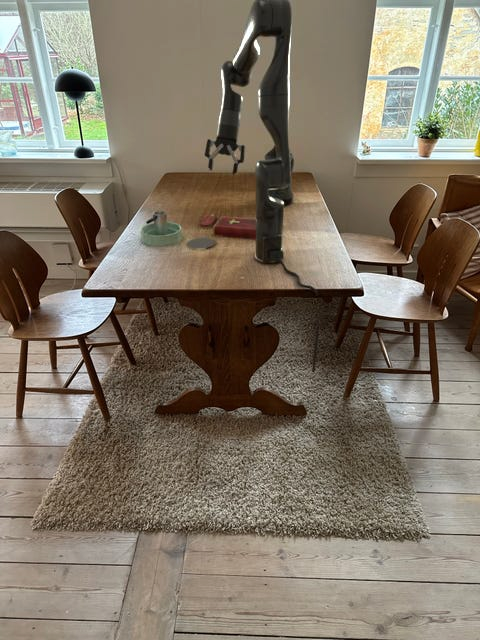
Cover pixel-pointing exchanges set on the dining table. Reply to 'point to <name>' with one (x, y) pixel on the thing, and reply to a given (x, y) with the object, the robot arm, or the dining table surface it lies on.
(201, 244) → the coaster
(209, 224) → the popsicle
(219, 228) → the hardcover book
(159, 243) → the bowl
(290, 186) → the beer stein
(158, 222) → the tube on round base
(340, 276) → the dining table surface
